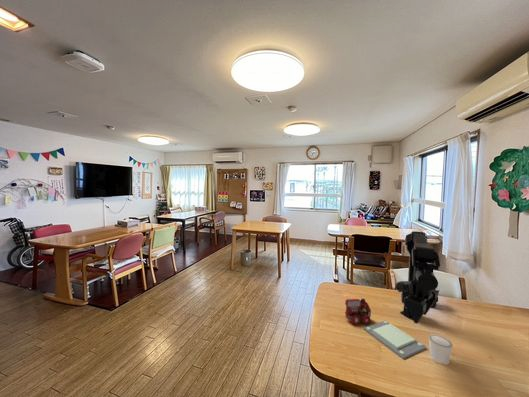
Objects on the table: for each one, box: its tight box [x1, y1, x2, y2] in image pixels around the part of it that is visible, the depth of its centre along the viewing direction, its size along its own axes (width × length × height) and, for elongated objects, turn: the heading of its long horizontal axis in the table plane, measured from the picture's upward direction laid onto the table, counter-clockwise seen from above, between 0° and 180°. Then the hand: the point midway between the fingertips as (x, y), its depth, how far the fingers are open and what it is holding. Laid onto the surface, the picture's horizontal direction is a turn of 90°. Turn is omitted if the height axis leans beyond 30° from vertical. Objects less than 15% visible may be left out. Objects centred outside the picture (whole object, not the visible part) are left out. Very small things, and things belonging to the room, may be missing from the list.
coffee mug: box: [430, 286, 440, 309], centre depth 118 cm, size 12×9×10 cm
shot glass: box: [428, 334, 453, 366], centre depth 81 cm, size 7×7×7 cm
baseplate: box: [363, 320, 427, 360], centre depth 92 cm, size 14×18×2 cm
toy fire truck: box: [344, 298, 372, 326], centre depth 104 cm, size 7×12×10 cm, turn 96°
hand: (420, 318), depth 85 cm, fingers open, 9 cm apart
